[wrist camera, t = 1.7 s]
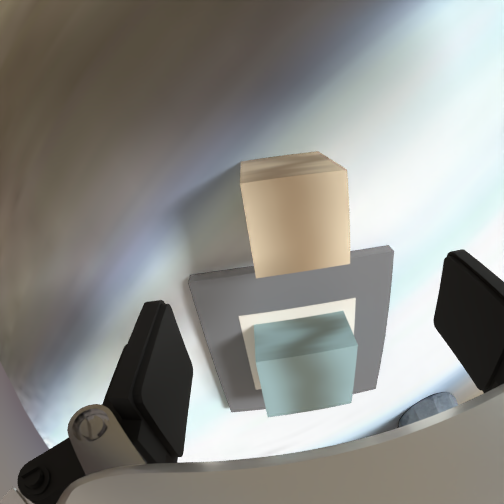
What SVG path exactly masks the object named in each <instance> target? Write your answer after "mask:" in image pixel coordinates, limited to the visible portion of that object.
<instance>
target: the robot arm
mask: <svg viewBox="0 0 504 504" xmlns="http://www.w3.org/2000/svg"><path fill="white" fill-rule="evenodd" d="M434 325H435V328H436V329H437V331H438V332H439V333H440V335H441V336H442V337H443V339H444V340H445V341H446V343H447V344H448V346H449V347H450V348H451V350H452V351H453V353H454V354H455V355H456V357H457V358H458V360H459V361H460V363H461V364H462V365H463V367H464V368H465V370H466V371H467V373H468V374H469V376H470V377H471V379H472V380H473V382H474V383H475V385H476V386H477V388H478V389H479V390H482V391H483V392H484V394H482V395H480V396H478V397H476V398H474V399H471V400H469V401H467V402H465V403H463V404H460V405H458V406H456V407H453V408H451V409H448V410H446V411H444V412H441V413H439V414H436V415H433V416H431V417H428V418H426V419H423V420H420V421H417V422H414V423H412V424H409V425H406V426H403V427H400V428H396V429H393V430H390V431H387V432H383V433H380V434H377V435H373V436H369V437H366V438H362V439H358V440H354V441H350V442H346V443H342V444H337V445H333V446H328V447H323V448H318V449H313V450H308V451H302V452H296V453H290V454H283V455H276V456H268V457H260V458H250V459H240V460H228V461H213V462H186V463H177V459H178V457H182V455H183V451H184V442H185V433H186V424H187V416H188V408H189V400H190V392H191V385H192V377H193V367H192V363H191V360H190V358H189V355H188V353H187V350H186V347H185V345H184V342H183V339H182V337H181V334H180V331H179V328H178V326H177V323H176V320H175V317H174V314H173V311H172V308H171V306H170V305H169V304H165V303H164V301H162V300H159V301H151V302H145V303H144V305H143V308H142V310H141V312H140V315H139V317H138V319H137V322H136V324H135V327H134V329H133V332H132V334H131V337H130V339H129V341H128V344H126V345H125V347H124V349H123V351H122V354H121V356H120V359H119V362H118V364H117V367H116V369H115V372H114V374H113V377H112V380H111V382H110V385H109V388H108V391H107V393H106V396H105V399H104V402H103V404H102V405H98V404H93V405H88V406H86V407H83V408H81V409H80V410H78V411H77V412H76V413H75V414H74V415H73V416H72V417H71V419H70V421H69V424H68V430H67V431H68V436H69V438H67V439H66V440H64V441H62V442H61V443H59V444H58V445H56V446H54V447H53V448H51V449H49V450H48V451H46V452H45V453H43V454H41V455H39V456H38V457H36V458H34V459H33V460H31V461H29V462H28V463H27V464H25V465H24V467H23V468H22V469H21V470H20V473H19V475H18V489H17V490H16V489H15V488H12V489H11V490H10V491H9V492H8V493H7V494H6V495H5V496H4V497H3V498H2V499H1V500H0V504H504V282H503V281H502V280H501V279H500V278H498V277H497V276H496V275H495V274H494V273H492V272H491V271H490V270H489V269H488V268H486V267H485V266H484V265H483V264H481V263H480V262H479V261H478V260H477V259H475V258H474V257H473V256H471V255H470V254H469V253H468V252H466V251H465V250H457V251H452V252H449V253H448V255H447V257H446V258H445V259H444V264H443V271H442V277H441V283H440V289H439V295H438V300H437V305H436V310H435V315H434Z"/></svg>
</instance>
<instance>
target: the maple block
mask: <svg viewBox="0 0 504 504" xmlns="http://www.w3.org/2000/svg"><path fill="white" fill-rule="evenodd" d="M240 187H241V193H242V199H243V205H244V211H245V217H246V222H247V228H248V234H249V240H250V246H251V252H252V258H253V264H254V269H255V275H256V278H263V277H270V276H276V275H283V274H290V273H296V272H303V271H309V270H315V269H322V268H328V267H334V266H340V265H346V264H350V220H349V196H348V178H347V170H346V169H345V168H343V167H342V166H340V165H339V164H337V163H336V162H334V161H333V160H331V159H329V158H328V157H326V156H325V155H323V154H321V153H320V152H318V151H317V152H308V153H300V154H291V155H283V156H276V157H268V158H261V159H255V160H248V161H242V162H241V168H240Z"/></svg>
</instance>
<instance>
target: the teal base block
mask: <svg viewBox="0 0 504 504" xmlns="http://www.w3.org/2000/svg"><path fill="white" fill-rule="evenodd" d="M254 339H255V359H256V366H257V371H258V375H259V380H260V384H261V389H262V393H263V398H264V402H265V407H266V411H267V416H268V417H272V416H280V415H288V414H294V413H301V412H307V411H313V410H319V409H324V408H329V407H334V406H339V405H344V404H349V403H351V401H352V394H353V386H354V378H355V369H356V359H357V349H358V344H357V342H356V339H355V337H354V335H353V332H352V330H351V328H350V325H349V323H348V321H347V318H346V316H345V314H344V311H338V312H333V313H327V314H321V315H315V316H309V317H303V318H297V319H291V320H284V321H277V322H270V323H263V324H256V325H254Z"/></svg>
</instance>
